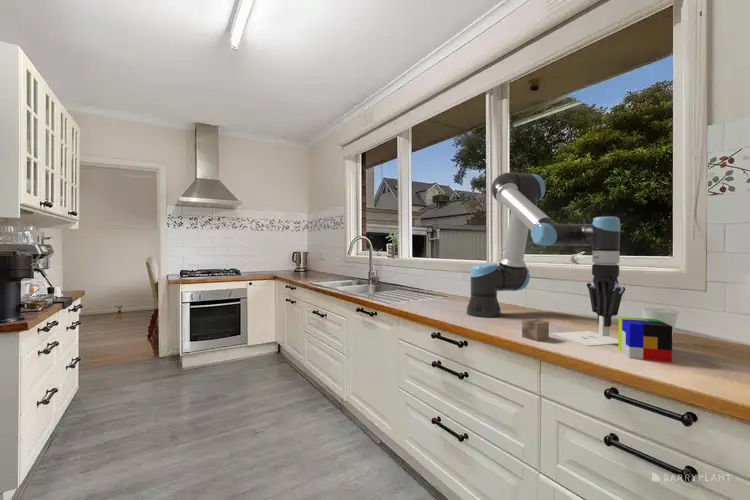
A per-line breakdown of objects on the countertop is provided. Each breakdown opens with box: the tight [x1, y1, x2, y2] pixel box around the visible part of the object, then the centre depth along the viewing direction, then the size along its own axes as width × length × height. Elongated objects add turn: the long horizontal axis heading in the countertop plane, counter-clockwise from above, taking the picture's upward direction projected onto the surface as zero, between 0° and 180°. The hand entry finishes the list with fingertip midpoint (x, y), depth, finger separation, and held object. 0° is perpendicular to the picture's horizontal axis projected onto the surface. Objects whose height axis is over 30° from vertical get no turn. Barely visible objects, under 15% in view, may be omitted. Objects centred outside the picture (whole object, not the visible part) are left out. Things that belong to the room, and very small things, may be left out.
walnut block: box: [521, 318, 550, 342], centre depth 124 cm, size 6×6×6 cm
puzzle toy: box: [617, 316, 673, 363], centre depth 106 cm, size 10×10×10 cm
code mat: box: [551, 330, 618, 347], centre depth 124 cm, size 16×16×1 cm
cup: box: [640, 306, 680, 338], centre depth 118 cm, size 10×10×11 cm
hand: (604, 335), depth 118 cm, fingers closed
